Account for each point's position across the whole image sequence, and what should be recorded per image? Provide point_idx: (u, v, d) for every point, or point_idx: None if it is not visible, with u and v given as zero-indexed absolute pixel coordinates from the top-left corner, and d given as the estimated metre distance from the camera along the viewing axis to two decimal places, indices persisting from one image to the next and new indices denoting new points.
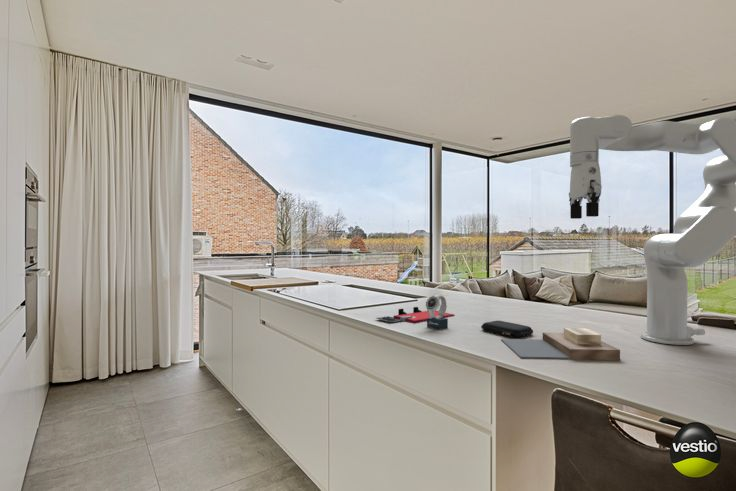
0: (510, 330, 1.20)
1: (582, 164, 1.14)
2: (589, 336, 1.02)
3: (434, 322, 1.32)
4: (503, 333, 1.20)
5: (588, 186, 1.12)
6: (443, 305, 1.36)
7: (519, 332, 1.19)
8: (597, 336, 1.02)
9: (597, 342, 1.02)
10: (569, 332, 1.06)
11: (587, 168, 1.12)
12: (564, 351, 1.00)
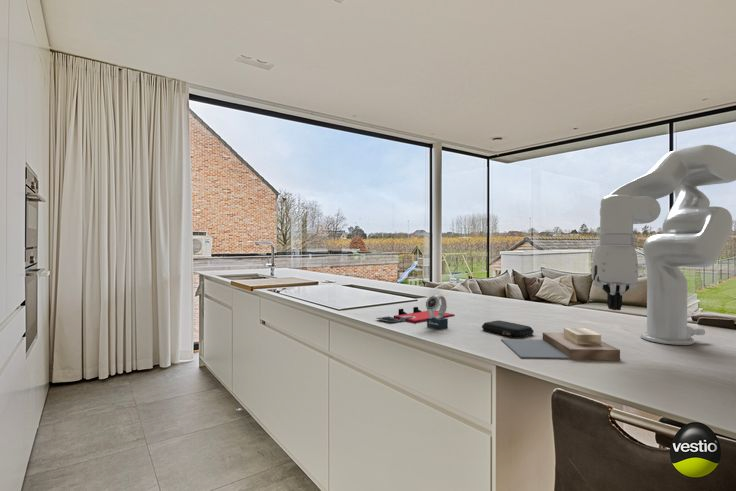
0: (510, 330, 1.20)
1: (633, 248, 1.03)
2: (589, 336, 1.02)
3: (434, 322, 1.32)
4: (503, 333, 1.20)
5: None
6: (443, 305, 1.36)
7: (519, 332, 1.19)
8: (597, 336, 1.02)
9: (597, 342, 1.02)
10: (569, 332, 1.06)
11: None
12: (564, 351, 1.00)
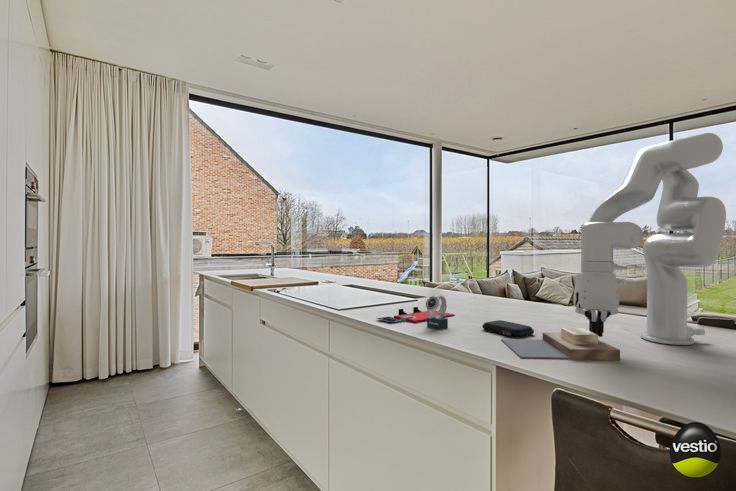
0: (510, 330, 1.20)
1: (614, 275, 1.03)
2: (586, 336, 1.02)
3: (434, 322, 1.32)
4: (503, 333, 1.21)
5: None
6: (443, 305, 1.36)
7: (519, 332, 1.19)
8: (594, 336, 1.02)
9: (594, 342, 1.02)
10: (566, 332, 1.07)
11: None
12: (564, 351, 1.00)
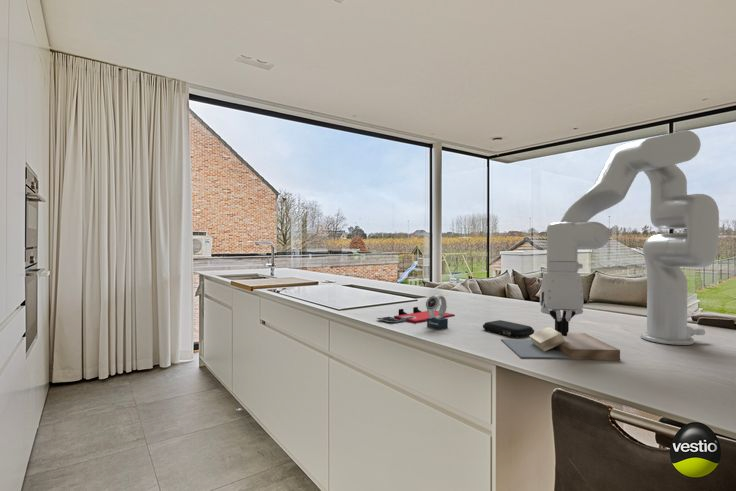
0: (511, 330, 1.21)
1: (578, 275, 1.04)
2: (551, 339, 1.03)
3: (434, 322, 1.32)
4: (504, 333, 1.21)
5: None
6: (443, 305, 1.36)
7: (520, 332, 1.19)
8: (558, 336, 1.03)
9: (561, 341, 1.03)
10: (534, 340, 1.07)
11: None
12: (564, 351, 1.00)
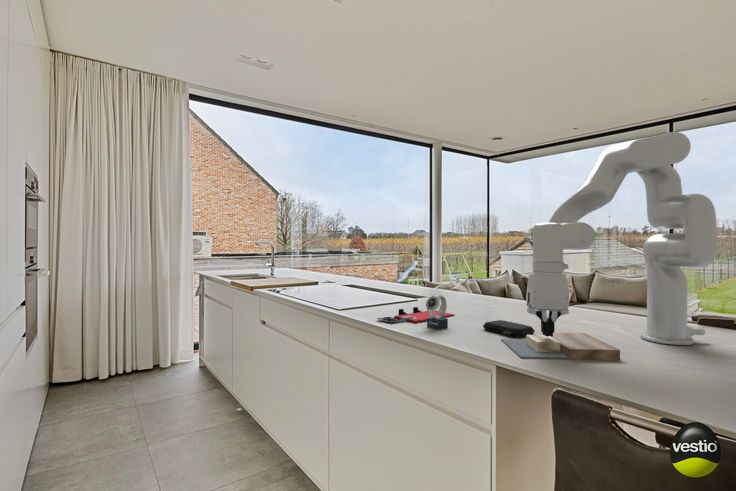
0: (511, 329, 1.21)
1: (563, 275, 1.04)
2: (549, 343, 1.03)
3: (434, 322, 1.32)
4: (504, 332, 1.21)
5: None
6: (443, 305, 1.36)
7: (520, 331, 1.19)
8: (556, 343, 1.02)
9: (556, 349, 1.02)
10: (530, 339, 1.07)
11: (566, 280, 1.05)
12: (564, 351, 1.00)
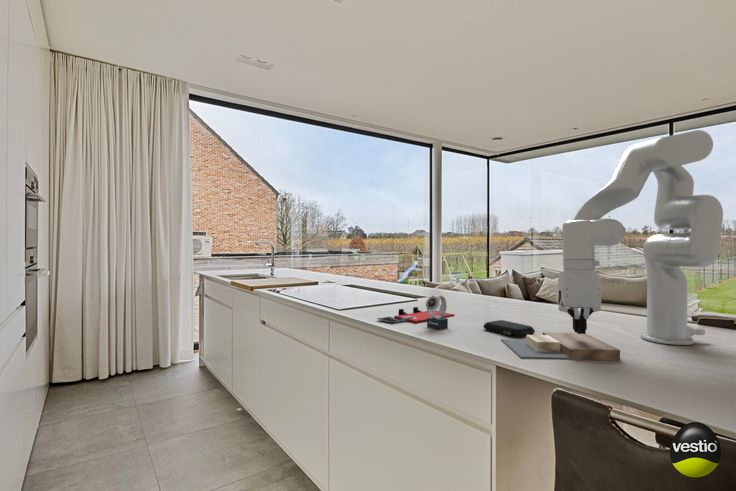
0: (511, 329, 1.21)
1: (595, 272, 1.04)
2: (549, 343, 1.03)
3: (434, 322, 1.32)
4: (504, 332, 1.21)
5: None
6: (443, 305, 1.36)
7: (520, 332, 1.19)
8: (556, 343, 1.02)
9: (556, 349, 1.02)
10: (530, 339, 1.07)
11: None
12: (564, 351, 1.00)
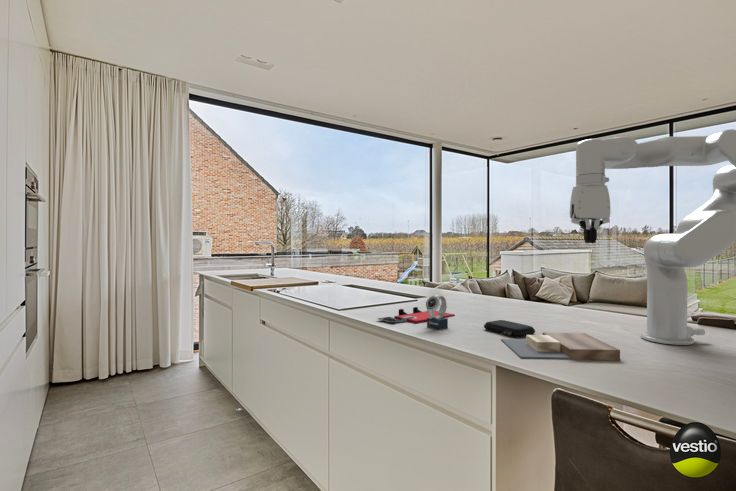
0: (511, 329, 1.21)
1: (605, 186, 1.15)
2: (549, 343, 1.03)
3: (434, 322, 1.32)
4: (504, 332, 1.21)
5: None
6: (443, 305, 1.36)
7: (520, 332, 1.20)
8: (556, 343, 1.02)
9: (556, 349, 1.02)
10: (530, 339, 1.07)
11: None
12: (564, 351, 1.00)
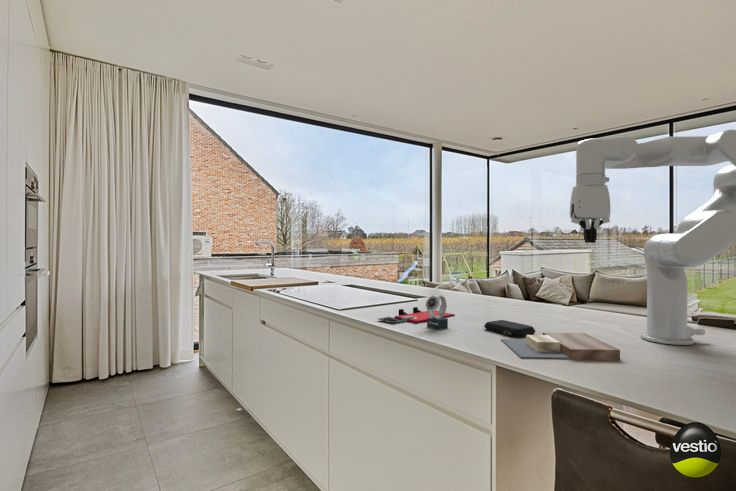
0: (511, 329, 1.21)
1: (605, 186, 1.15)
2: (549, 343, 1.03)
3: (434, 322, 1.32)
4: (504, 332, 1.21)
5: None
6: (443, 305, 1.36)
7: (520, 331, 1.20)
8: (556, 343, 1.02)
9: (556, 349, 1.02)
10: (530, 339, 1.07)
11: None
12: (564, 351, 1.00)
